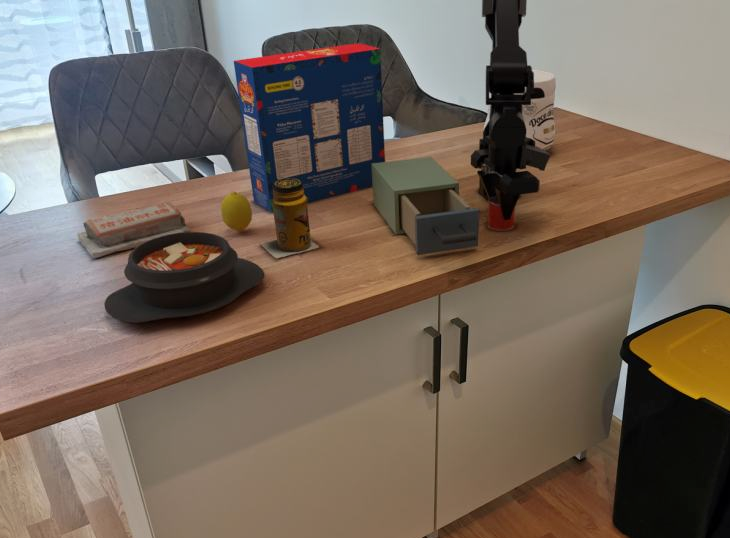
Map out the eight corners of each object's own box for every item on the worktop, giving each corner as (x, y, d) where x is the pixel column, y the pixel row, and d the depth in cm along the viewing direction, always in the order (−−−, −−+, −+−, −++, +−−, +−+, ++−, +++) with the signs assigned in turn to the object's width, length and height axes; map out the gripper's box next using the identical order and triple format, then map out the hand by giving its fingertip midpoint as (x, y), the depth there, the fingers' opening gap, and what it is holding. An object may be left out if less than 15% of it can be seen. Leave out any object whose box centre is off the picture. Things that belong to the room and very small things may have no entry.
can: (507, 219, 142) (509, 193, 139) (518, 229, 138) (520, 203, 135) (483, 222, 141) (484, 197, 138) (493, 232, 137) (494, 206, 134)
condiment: (319, 248, 132) (313, 184, 125) (276, 259, 128) (267, 194, 121) (302, 234, 137) (295, 172, 130) (260, 245, 133) (251, 182, 127)
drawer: (490, 259, 125) (491, 222, 121) (427, 268, 122) (427, 231, 118) (449, 215, 142) (449, 181, 138) (393, 222, 139) (391, 188, 135)
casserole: (133, 349, 103) (119, 297, 99) (90, 301, 115) (76, 253, 111) (287, 295, 116) (281, 247, 112) (234, 257, 129) (226, 212, 124)
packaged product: (168, 195, 142) (186, 211, 135) (172, 219, 144) (191, 235, 137) (71, 217, 132) (86, 235, 126) (78, 241, 135) (93, 260, 128)
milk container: (558, 163, 171) (565, 83, 161) (484, 163, 171) (487, 84, 161) (548, 141, 185) (554, 67, 176) (481, 141, 186) (483, 68, 176)
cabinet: (458, 225, 140) (459, 182, 135) (395, 234, 136) (394, 191, 132) (431, 196, 153) (431, 156, 148) (373, 204, 150) (371, 163, 145)
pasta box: (366, 173, 166) (358, 43, 151) (386, 182, 160) (380, 48, 146) (253, 201, 152) (233, 60, 137) (271, 212, 146) (252, 67, 131)
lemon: (259, 228, 140) (254, 188, 135) (244, 239, 135) (238, 198, 131) (235, 224, 141) (228, 185, 137) (219, 235, 137) (212, 195, 133)
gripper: (570, 142, 124) (562, 227, 133) (524, 115, 139) (519, 193, 148) (510, 149, 122) (506, 235, 130) (470, 120, 137) (468, 199, 145)
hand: (501, 214), depth 138 cm, fingers closed on can, 5 cm apart
